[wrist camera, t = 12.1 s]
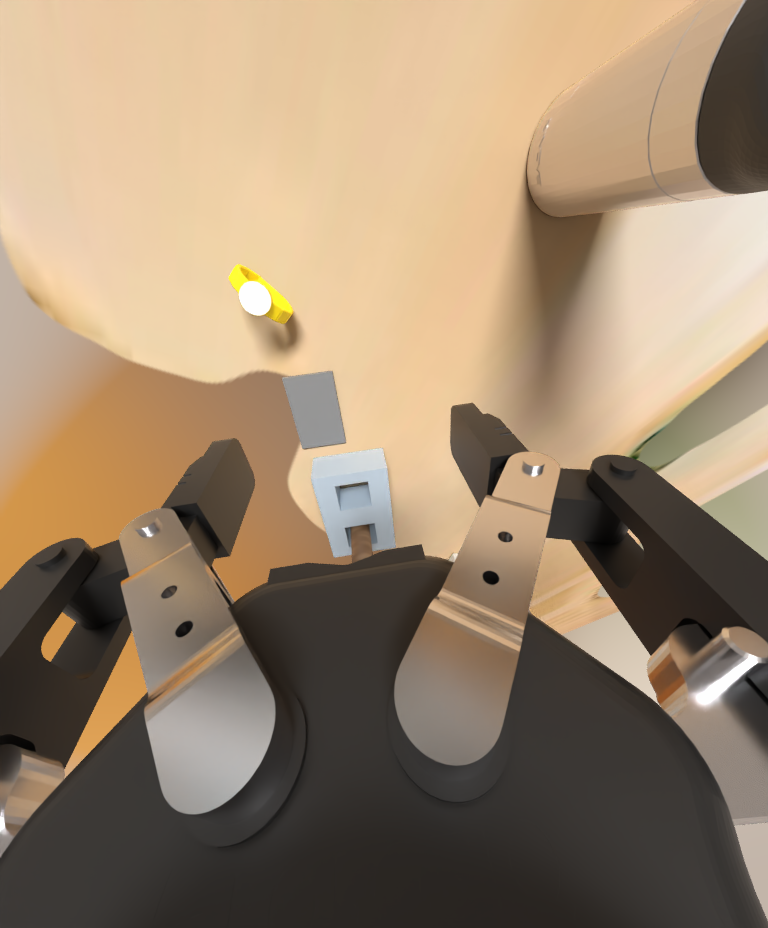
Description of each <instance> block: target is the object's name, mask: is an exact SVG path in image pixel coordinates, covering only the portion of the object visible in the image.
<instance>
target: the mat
mask: <svg viewBox="0 0 768 928" xmlns="http://www.w3.org/2000/svg"><path fill="white" fill-rule="evenodd" d="M282 380H283V384H284V387H285V390H286V394H287V397H288V400H289V404H290V407H291V411H292V414H293V417H294V421H295V424H296V428H297V431H298V435H299V438H300V442H301V445H302V448H303V449H305V448H312V447H319V446H325V445H332V444H339V443H346V440H345V435H344V429H343V424H342V419H341V414H340V409H339V404H338V398H337V393H336V388H335V383H334V378H333V373H332V371H327V372H320V373H312V374H305V375H297V376H290V377H283V378H282Z"/></svg>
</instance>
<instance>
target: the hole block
mask: <svg viewBox="0 0 768 928" xmlns="http://www.w3.org/2000/svg"><path fill="white" fill-rule="evenodd" d="M311 481H312V484H313V488H314V491H315V495H316V498H317V501H318V505H319V508H320V512H321V515H322V518H323V522H324V525H325V529H326V532H327V535H328V539H329V542H330V546H331V549H332V552H333V556H334V557H340V556H346V555H352V550H351V530H350V527H353V526H359V525H366V524H369V526H370V535H371V543H372V551H378V550H384V549H390V548H396V545H395V536H394V527H393V517H392V508H391V499H390V490H389V481H388V472H387V465H386V461H385V457H384V452H383V448H378V449H371V450H364V451H358V452H351V453H344V454H337V455H331V456H324V457H317V458H313V465H312V475H311ZM367 481H368V484H366V485H360V486H353V487H347V488H340V486H341V485H348V484H354V483H361V482H367Z"/></svg>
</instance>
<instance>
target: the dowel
mask: <svg viewBox="0 0 768 928" xmlns="http://www.w3.org/2000/svg"><path fill="white" fill-rule="evenodd" d="M350 530H351V550H352V563H354V562H357V561H359V560H362V559H364V558H367V557H369V556H372V555H373V552H372V543H371V535H370V526H369V524H366V525H359V526H353V527H350Z"/></svg>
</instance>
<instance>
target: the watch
mask: <svg viewBox="0 0 768 928" xmlns="http://www.w3.org/2000/svg"><path fill="white" fill-rule="evenodd" d="M229 280H230V282H231V284H232V286H233V287H234V288H235V290H236V291H237V292H238V293H239V299H240V303H241V305H242V306H243V308H244V309H245V310H246V311H247V312H248V313H250V314H252V315H255V316H263V315H266V316H267V317H269V318H270V319H272V320H274V321H276V322H279V323H282V324H285V323H286V322H287V321H288V319H289V318H290V317H291V315H292V314H293V309H292V307H291V305H290V304H289V303H288V302H287V301H286V299H285V298H284V297H283V296H282V295H280V294H279V293H278V292H277V291H276V290H275V289H274V288H272V287H271V286H270V285H269V284H268V283H267V282H266V281H264V280H263V279H262V278H261V276H259V275H258V274H256V273H255V272H253V271H252V270H250V269H248V268H247V267H245V266H242V265H240V264H238V265H236V266H235V268H234V269H233V271H232V273H231V274H230V276H229Z"/></svg>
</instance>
